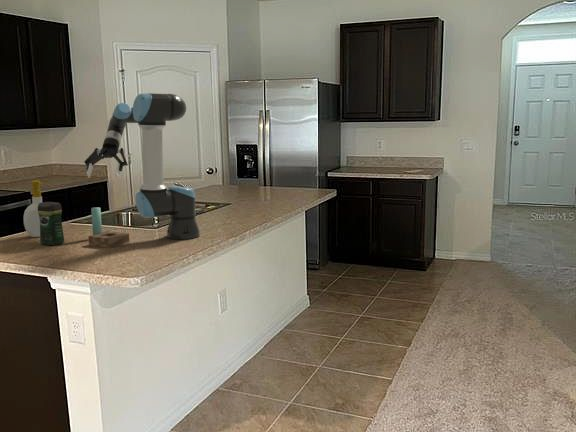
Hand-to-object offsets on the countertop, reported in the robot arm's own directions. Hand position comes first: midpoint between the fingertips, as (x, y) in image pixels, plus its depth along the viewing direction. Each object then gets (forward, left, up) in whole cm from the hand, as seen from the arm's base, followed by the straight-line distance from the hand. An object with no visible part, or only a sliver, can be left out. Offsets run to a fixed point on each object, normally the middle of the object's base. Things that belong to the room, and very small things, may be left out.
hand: (102, 176), depth 264 cm
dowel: (-3, +9, -28) cm, 29 cm away
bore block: (-16, +16, -28) cm, 36 cm away
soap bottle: (+25, +16, -28) cm, 41 cm away
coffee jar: (+7, +26, -28) cm, 39 cm away
